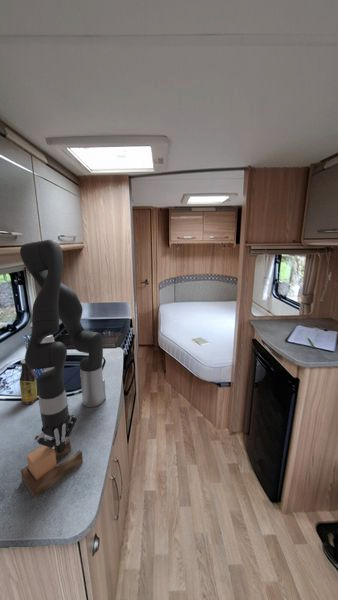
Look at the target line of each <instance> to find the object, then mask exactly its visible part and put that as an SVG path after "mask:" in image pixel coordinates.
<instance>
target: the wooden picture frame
mask: <svg viewBox="0 0 338 600" xmlns="http://www.w3.org/2000/svg"><path fill="white" fill-rule="evenodd" d="M52 449H53V450H54V451H55V448H54V447H53V448H52ZM71 451H72V448H71V441H70V439H68V438H67V439H65V449H64V451H63V452H62V453H60V454H59V453H57V452H56V451H55V455H56V462H57V461H58V460H59V459H61V458H62V457H64V456H65V455H67V454H68V453H70V452H71ZM83 460H84V459H83V451H82V450H81V449H79V450H78V451H76V452H75V453H74V454H72V455H70V457H68V458H66V459H65V460H63V462H61V463H60V464H58V465H57V467H55V468H54V469H53V470H51V471H50V472H49V473H47V474H46V475H44V476H43V477H42V478H40V479H39V480H37V481H35V480H34V479H33V477H32V476H31V475H30V473H29V467H28V465H26V466H25V467H23V468H22V469H20V475H21V481H22V482H23V484H24V485H25V486H26V488H27V490H28V491H29V492H30V494H31V495H32V496H33V497H34V499H37V498H38V497H39V496H40V495H42V494H43V493H44V492H46V490H49V488H51V487H52V486H53V485H55V484H56V483H58V482H59V481H60V480H62V479H63V478H64V477H65V476H67V474H69V473H70V472H72V471H73V470H75V468H77V467H78V466H80V465H81V464H82V463H84V461H83Z"/></svg>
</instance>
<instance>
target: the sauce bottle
mask: <svg viewBox="0 0 338 600" xmlns="http://www.w3.org/2000/svg"><path fill="white" fill-rule="evenodd" d="M20 366H21V372H20V377H19V387H20V388H19V389H20V396H21V397H20V399H21V402H22V404H24V405H30V404H34V403H35V402H36V401H37V400H38V388H37V378H36V372H35V371H34V370H32V369H29V368H28V367H27V365H26V363H25V359H22V360H21V361H20Z"/></svg>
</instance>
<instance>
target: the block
mask: <svg viewBox="0 0 338 600" xmlns="http://www.w3.org/2000/svg"><path fill="white" fill-rule="evenodd" d="M53 449H54V448H53V447H52V448H50V447H47V446H44V445H41V446H39V447H38V448H36V449H35V450H33V451H31V452H30V453H28V454H26V460H27V466H28V467H29V473H30V475H31V476H32V477H33V479H34V480H35V481H37V480H39V479H40V478H42V477H43V476H44V475H46V474H47V473H49V472H50V471H51V470H53V469H54V468H55V467H57V466H58V465H57V461H56V455H55V451H54V450H53Z"/></svg>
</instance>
